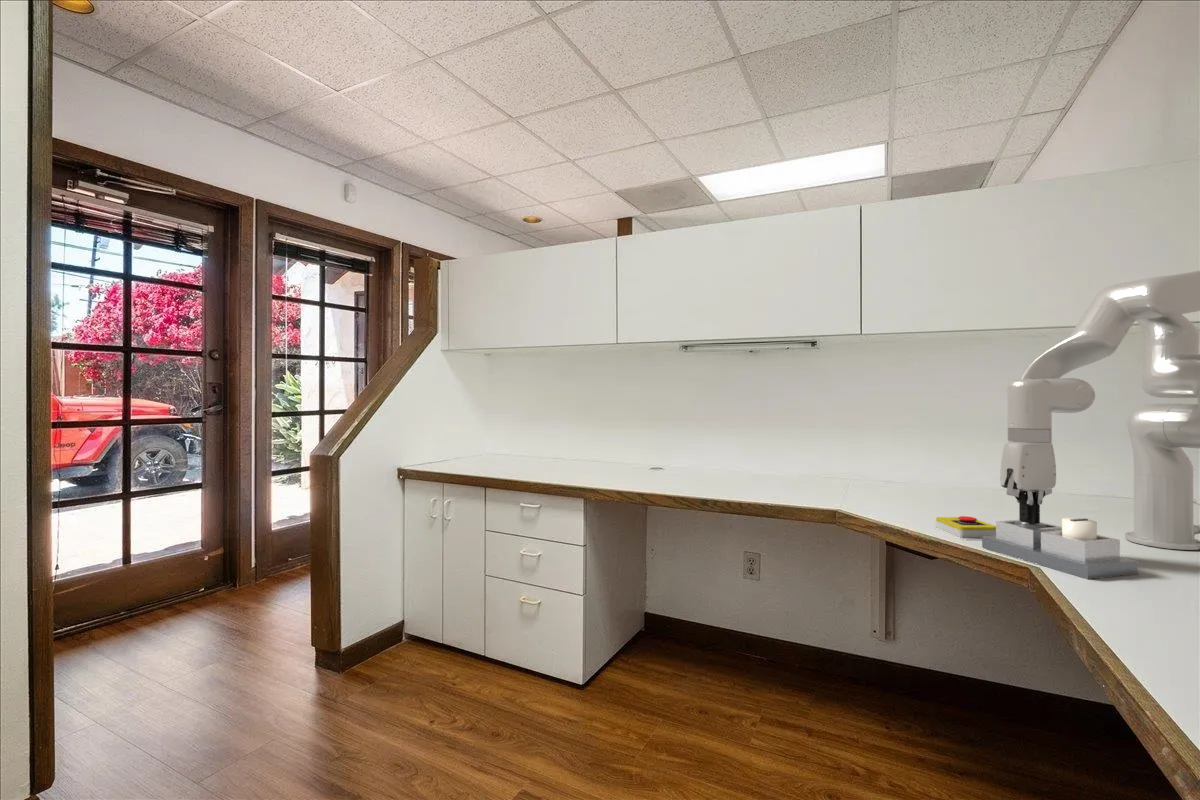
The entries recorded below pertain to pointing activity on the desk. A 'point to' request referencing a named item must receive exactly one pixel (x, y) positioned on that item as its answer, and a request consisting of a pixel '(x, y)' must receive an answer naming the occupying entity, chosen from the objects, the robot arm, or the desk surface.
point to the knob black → (1030, 525)
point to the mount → (1061, 550)
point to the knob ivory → (1079, 528)
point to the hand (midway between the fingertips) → (1029, 522)
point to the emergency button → (965, 527)
